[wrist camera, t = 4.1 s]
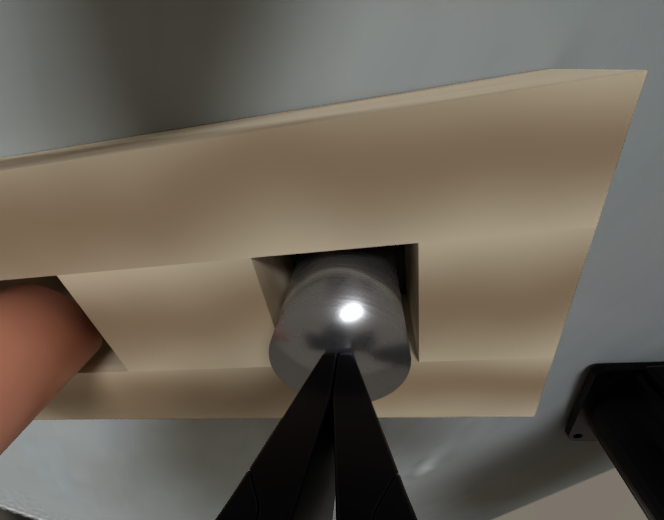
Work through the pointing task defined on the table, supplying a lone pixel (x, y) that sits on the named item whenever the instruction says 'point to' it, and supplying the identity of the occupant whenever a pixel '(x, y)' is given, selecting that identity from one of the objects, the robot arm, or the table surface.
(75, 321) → the red button
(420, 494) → the table surface
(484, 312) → the button panel
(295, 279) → the grey button
